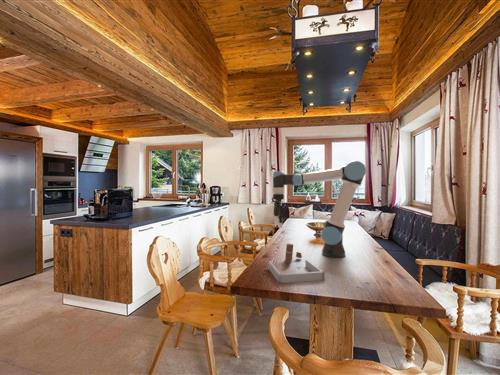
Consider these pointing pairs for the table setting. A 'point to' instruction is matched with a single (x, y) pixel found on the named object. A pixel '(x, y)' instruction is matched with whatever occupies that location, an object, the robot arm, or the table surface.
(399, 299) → the table surface
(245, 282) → the table surface
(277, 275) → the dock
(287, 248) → the wooden block set
